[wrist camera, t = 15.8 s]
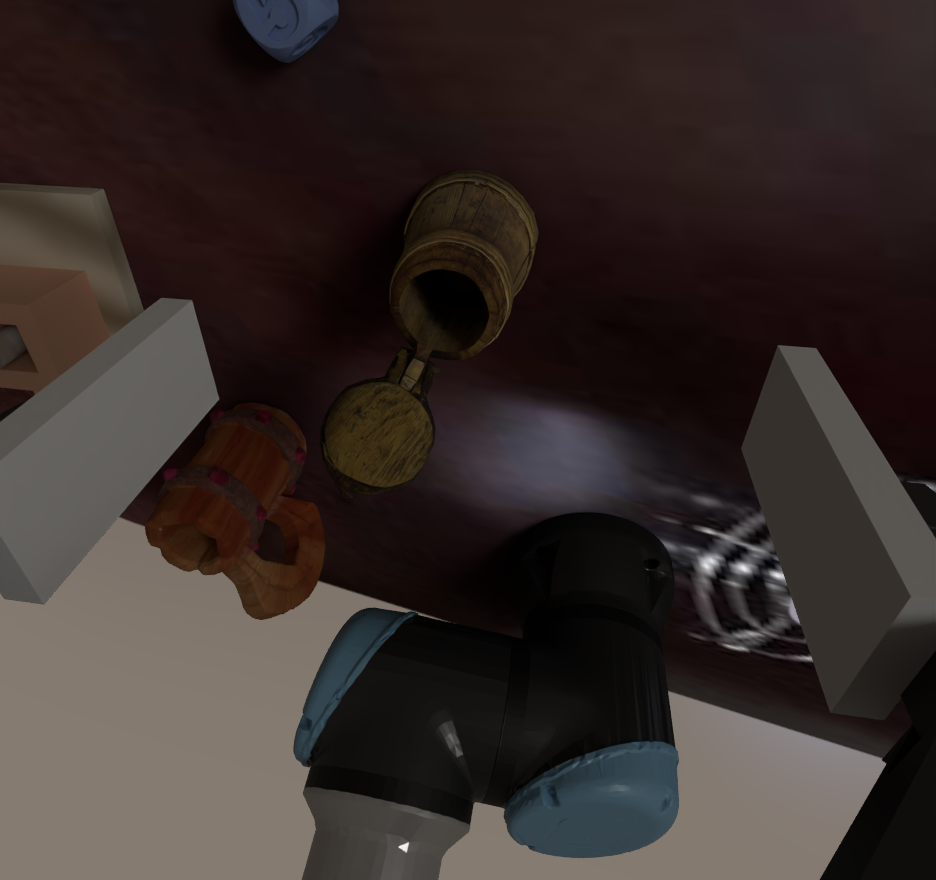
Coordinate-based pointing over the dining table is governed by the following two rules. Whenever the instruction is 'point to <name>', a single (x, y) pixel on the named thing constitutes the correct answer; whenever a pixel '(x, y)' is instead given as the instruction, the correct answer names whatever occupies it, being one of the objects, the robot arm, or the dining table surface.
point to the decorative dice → (287, 24)
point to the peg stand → (66, 249)
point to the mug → (243, 509)
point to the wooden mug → (432, 324)
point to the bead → (48, 322)
